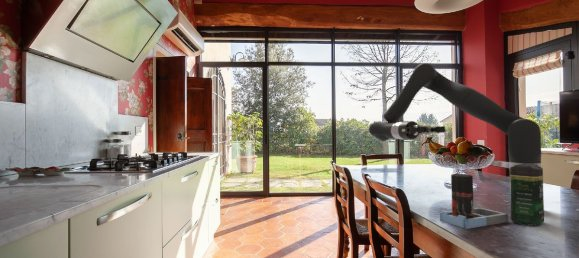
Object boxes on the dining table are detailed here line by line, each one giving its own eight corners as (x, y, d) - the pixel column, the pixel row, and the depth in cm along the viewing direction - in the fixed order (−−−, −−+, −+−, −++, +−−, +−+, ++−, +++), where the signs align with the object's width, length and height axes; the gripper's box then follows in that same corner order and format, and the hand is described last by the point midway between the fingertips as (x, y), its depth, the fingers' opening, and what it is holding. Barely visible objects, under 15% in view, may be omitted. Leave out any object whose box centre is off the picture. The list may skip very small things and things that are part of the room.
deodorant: (474, 226, 90) (472, 177, 91) (451, 223, 93) (450, 175, 94) (474, 221, 95) (472, 174, 96) (453, 219, 98) (451, 173, 99)
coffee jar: (540, 228, 87) (537, 165, 88) (507, 222, 93) (505, 163, 94) (548, 222, 93) (545, 163, 94) (517, 217, 99) (515, 161, 100)
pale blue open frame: (479, 214, 103) (479, 205, 103) (507, 221, 94) (507, 211, 94) (440, 220, 97) (439, 210, 97) (466, 228, 88) (465, 217, 88)
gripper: (390, 121, 122) (420, 119, 107) (417, 121, 127) (450, 119, 112) (391, 139, 122) (420, 140, 107) (418, 139, 127) (450, 139, 112)
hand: (435, 129), depth 110 cm, fingers open, 8 cm apart
